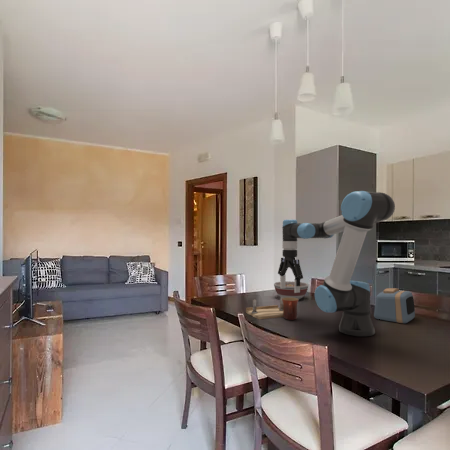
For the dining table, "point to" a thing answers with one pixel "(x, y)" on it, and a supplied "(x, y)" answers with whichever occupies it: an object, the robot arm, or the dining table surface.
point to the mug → (290, 308)
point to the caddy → (266, 311)
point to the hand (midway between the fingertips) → (289, 290)
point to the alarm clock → (394, 306)
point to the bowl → (291, 290)
